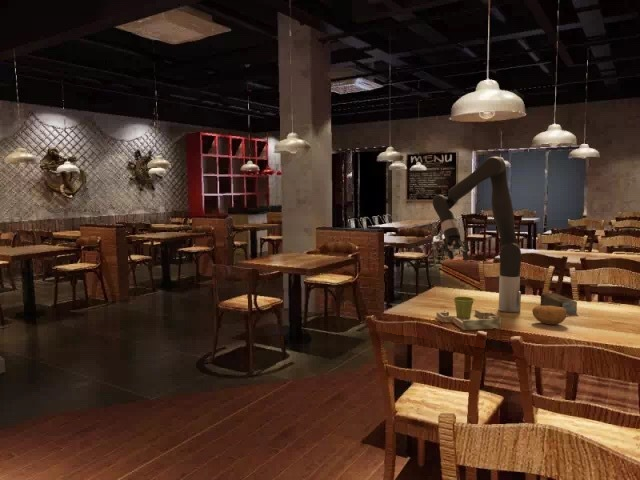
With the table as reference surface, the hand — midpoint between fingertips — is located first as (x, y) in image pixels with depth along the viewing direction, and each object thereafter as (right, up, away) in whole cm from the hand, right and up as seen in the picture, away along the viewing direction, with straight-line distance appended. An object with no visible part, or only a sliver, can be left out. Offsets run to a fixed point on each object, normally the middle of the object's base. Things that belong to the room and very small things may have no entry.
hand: (459, 259), depth 246 cm
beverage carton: (+50, -25, +5) cm, 56 cm away
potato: (+34, -28, -21) cm, 49 cm away
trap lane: (0, -27, -17) cm, 32 cm away
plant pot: (-1, -27, -9) cm, 28 cm away
